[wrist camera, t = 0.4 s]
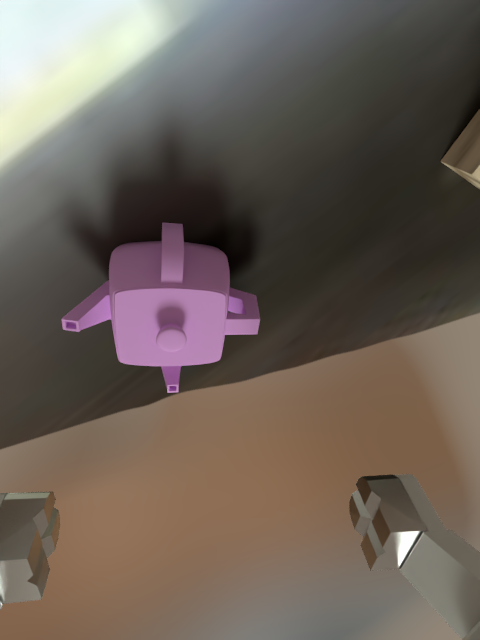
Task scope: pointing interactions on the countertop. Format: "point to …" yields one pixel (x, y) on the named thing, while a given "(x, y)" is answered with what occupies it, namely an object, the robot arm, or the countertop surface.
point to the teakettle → (168, 304)
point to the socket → (466, 153)
